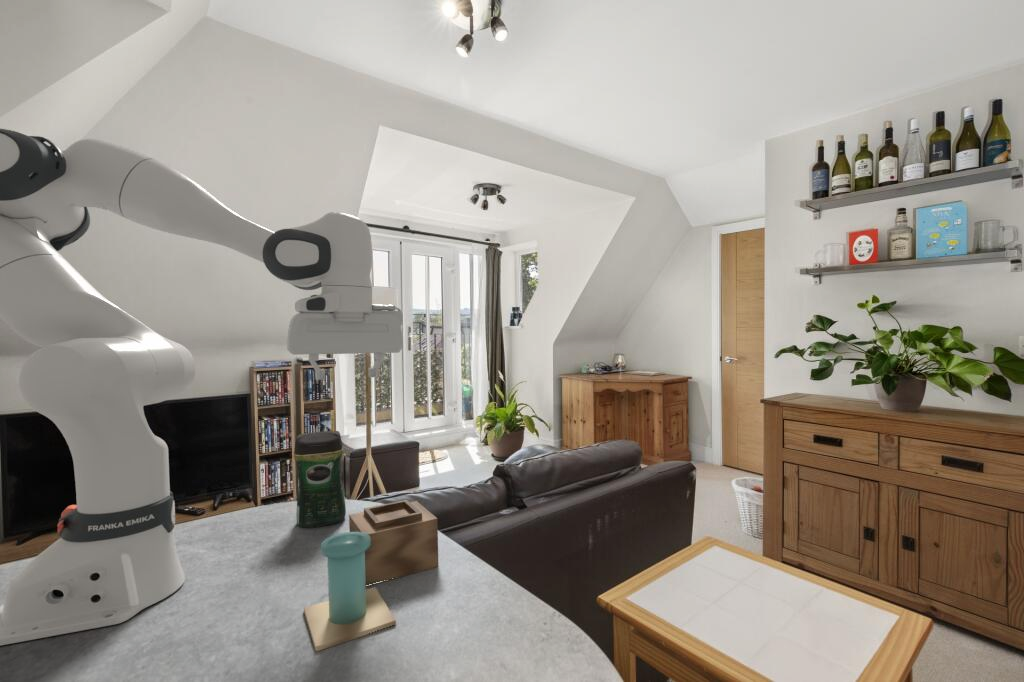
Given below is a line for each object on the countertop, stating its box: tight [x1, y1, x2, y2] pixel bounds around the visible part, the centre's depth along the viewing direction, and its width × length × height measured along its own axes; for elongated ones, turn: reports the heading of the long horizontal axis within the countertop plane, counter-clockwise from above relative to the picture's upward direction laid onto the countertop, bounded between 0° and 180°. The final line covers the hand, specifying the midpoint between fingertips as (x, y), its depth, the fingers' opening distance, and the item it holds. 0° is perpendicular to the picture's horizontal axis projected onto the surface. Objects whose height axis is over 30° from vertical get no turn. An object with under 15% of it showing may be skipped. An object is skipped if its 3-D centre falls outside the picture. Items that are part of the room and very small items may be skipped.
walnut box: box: [348, 499, 439, 585], centre depth 82 cm, size 12×10×9 cm
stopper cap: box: [320, 531, 371, 625], centre depth 66 cm, size 6×6×10 cm
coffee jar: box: [293, 430, 347, 528], centre depth 101 cm, size 10×8×19 cm
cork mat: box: [303, 586, 397, 652], centre depth 66 cm, size 10×10×1 cm
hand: (347, 378), depth 90 cm, fingers open, 8 cm apart
